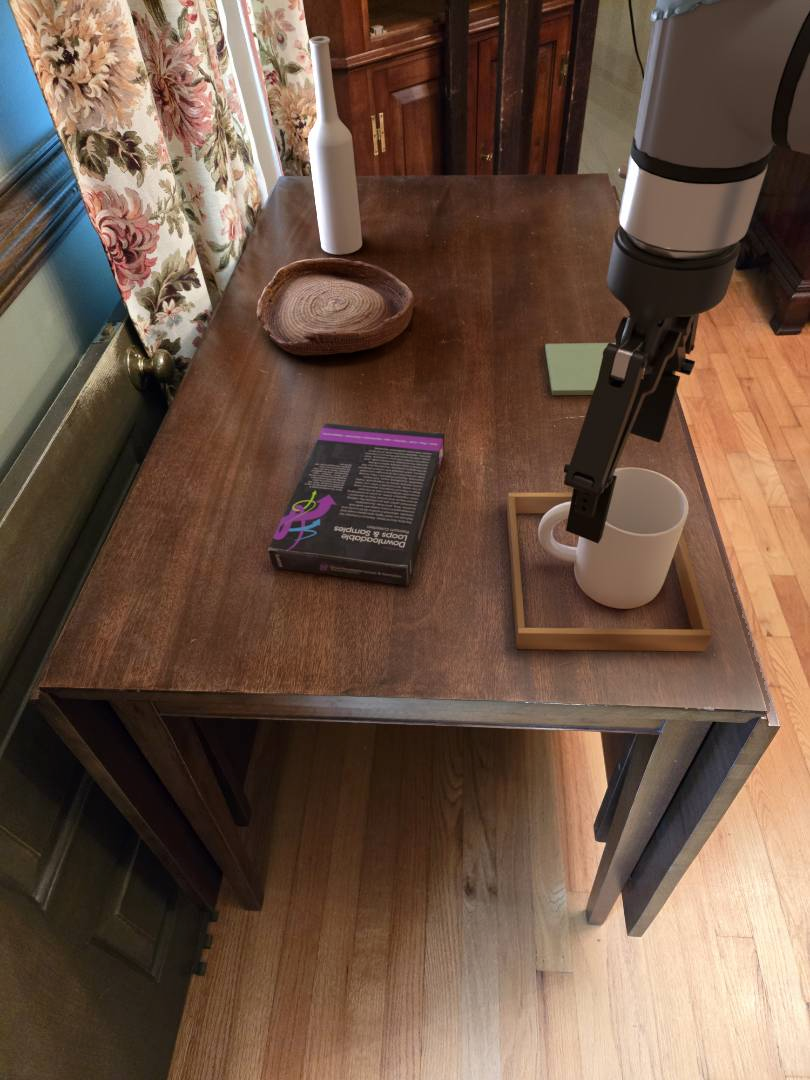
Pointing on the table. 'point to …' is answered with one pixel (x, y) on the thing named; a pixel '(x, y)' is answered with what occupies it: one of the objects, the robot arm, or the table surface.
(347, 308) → the basket
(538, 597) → the table surface
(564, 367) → the plate
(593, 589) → the mug
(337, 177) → the bottle
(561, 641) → the square wooden frame
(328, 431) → the box
